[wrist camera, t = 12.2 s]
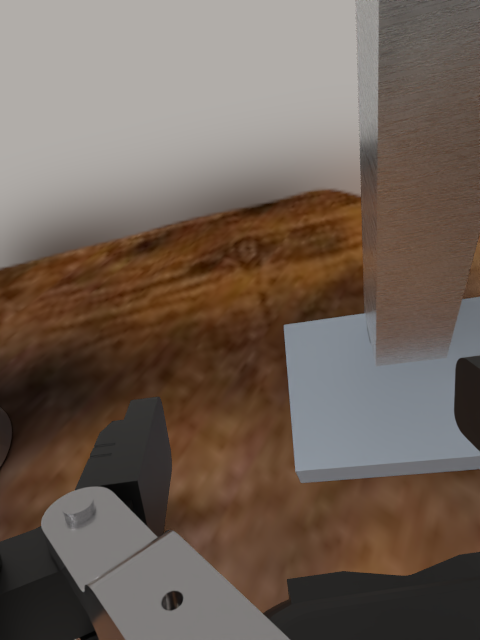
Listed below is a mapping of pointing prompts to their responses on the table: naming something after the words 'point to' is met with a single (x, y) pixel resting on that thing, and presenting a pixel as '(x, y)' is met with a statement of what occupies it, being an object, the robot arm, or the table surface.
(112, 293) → the table surface
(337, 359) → the stand base
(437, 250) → the column
